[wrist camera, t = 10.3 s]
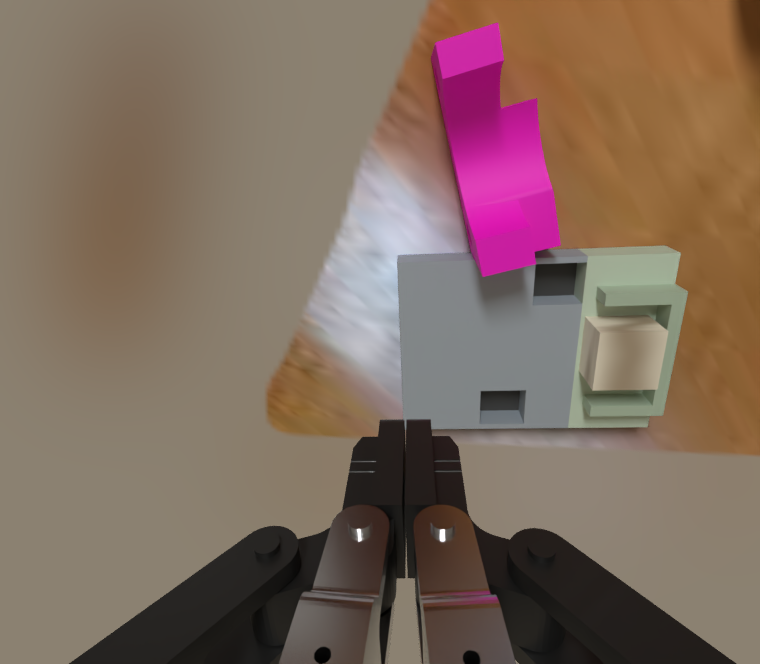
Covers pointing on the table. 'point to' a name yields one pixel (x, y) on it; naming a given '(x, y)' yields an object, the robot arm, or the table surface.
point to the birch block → (622, 352)
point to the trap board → (528, 336)
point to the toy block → (494, 155)
